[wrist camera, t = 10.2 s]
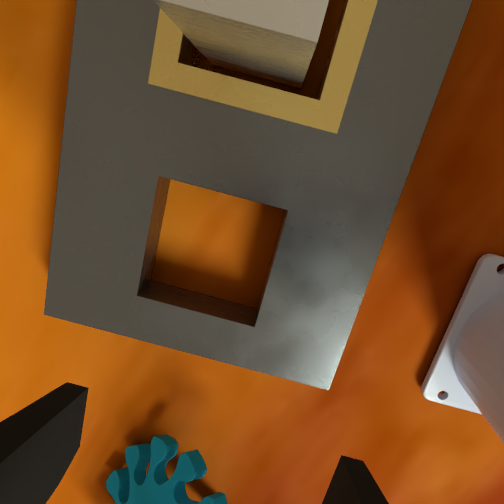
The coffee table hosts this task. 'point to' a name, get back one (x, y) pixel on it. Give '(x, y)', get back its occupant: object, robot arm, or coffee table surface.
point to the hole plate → (239, 176)
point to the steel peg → (252, 34)
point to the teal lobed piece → (158, 475)
